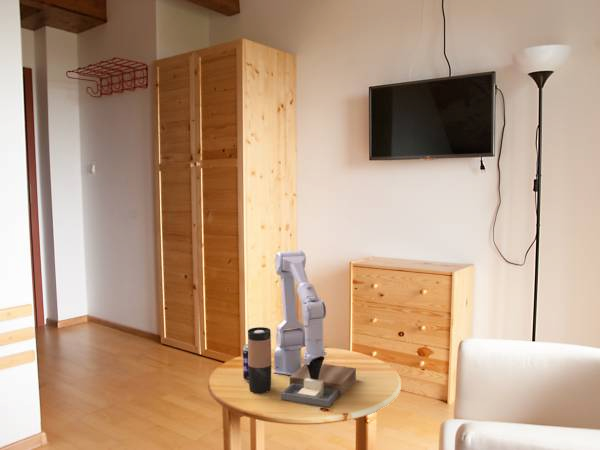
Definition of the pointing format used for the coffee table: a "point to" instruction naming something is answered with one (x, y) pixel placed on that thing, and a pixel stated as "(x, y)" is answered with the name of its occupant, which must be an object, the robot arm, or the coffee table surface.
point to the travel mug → (259, 359)
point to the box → (323, 401)
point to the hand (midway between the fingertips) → (314, 379)
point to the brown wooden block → (328, 377)
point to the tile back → (314, 385)
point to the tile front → (309, 392)
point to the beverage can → (245, 363)
